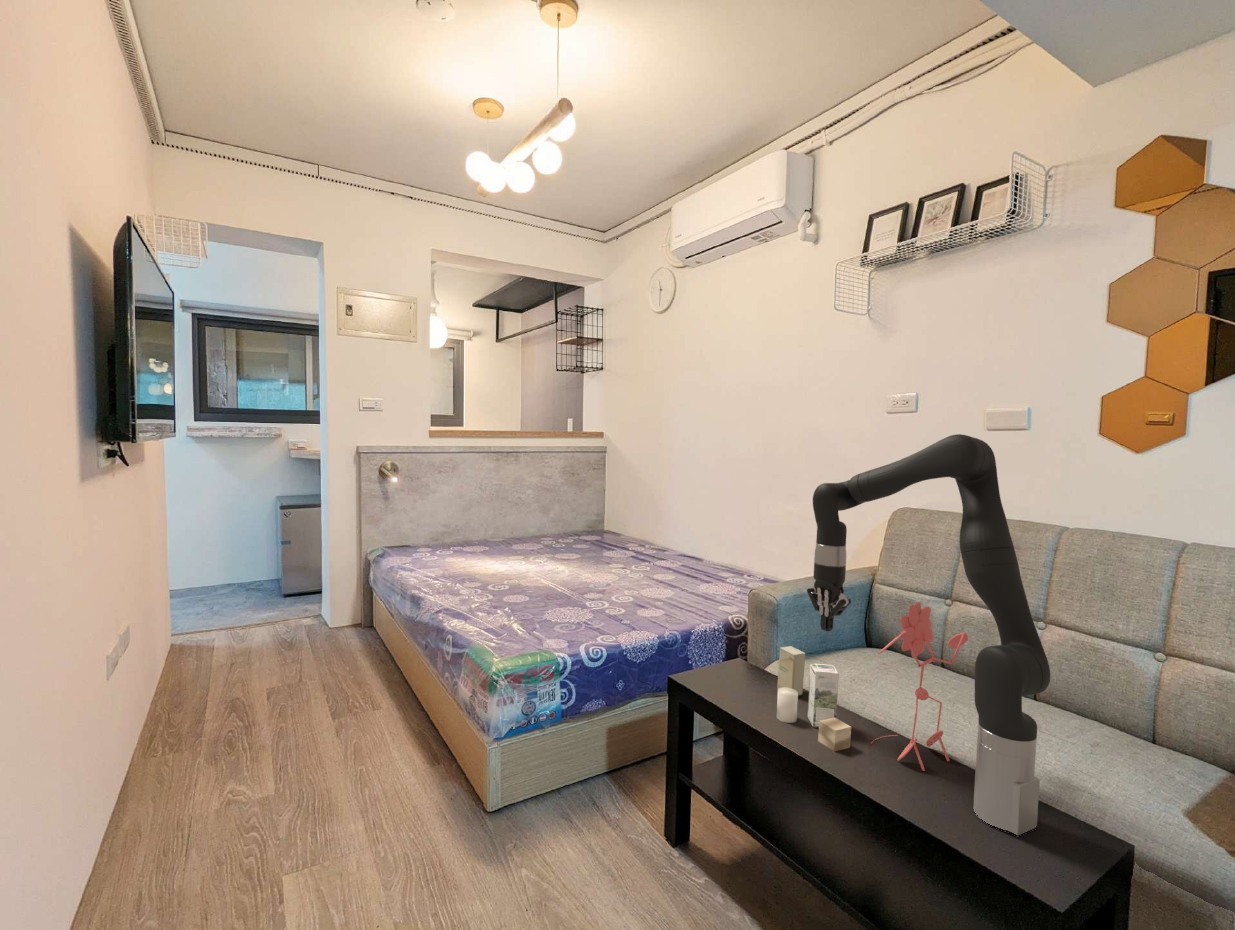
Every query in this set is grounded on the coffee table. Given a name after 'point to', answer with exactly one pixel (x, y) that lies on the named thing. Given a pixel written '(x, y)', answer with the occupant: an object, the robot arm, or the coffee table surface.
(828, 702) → the syrup box
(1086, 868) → the coffee table surface
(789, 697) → the ceramic cylinder
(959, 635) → the pink stick figure
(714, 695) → the coffee table surface
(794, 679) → the skincare box
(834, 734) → the birch block
